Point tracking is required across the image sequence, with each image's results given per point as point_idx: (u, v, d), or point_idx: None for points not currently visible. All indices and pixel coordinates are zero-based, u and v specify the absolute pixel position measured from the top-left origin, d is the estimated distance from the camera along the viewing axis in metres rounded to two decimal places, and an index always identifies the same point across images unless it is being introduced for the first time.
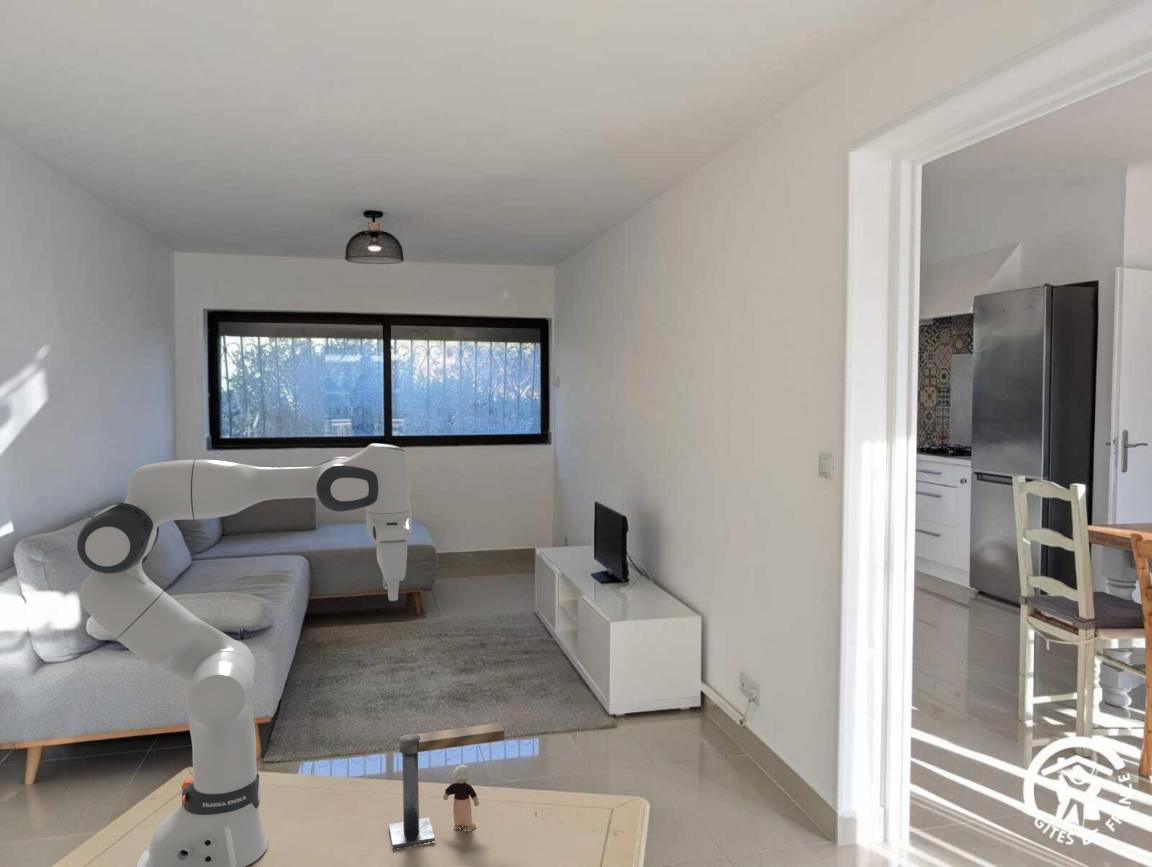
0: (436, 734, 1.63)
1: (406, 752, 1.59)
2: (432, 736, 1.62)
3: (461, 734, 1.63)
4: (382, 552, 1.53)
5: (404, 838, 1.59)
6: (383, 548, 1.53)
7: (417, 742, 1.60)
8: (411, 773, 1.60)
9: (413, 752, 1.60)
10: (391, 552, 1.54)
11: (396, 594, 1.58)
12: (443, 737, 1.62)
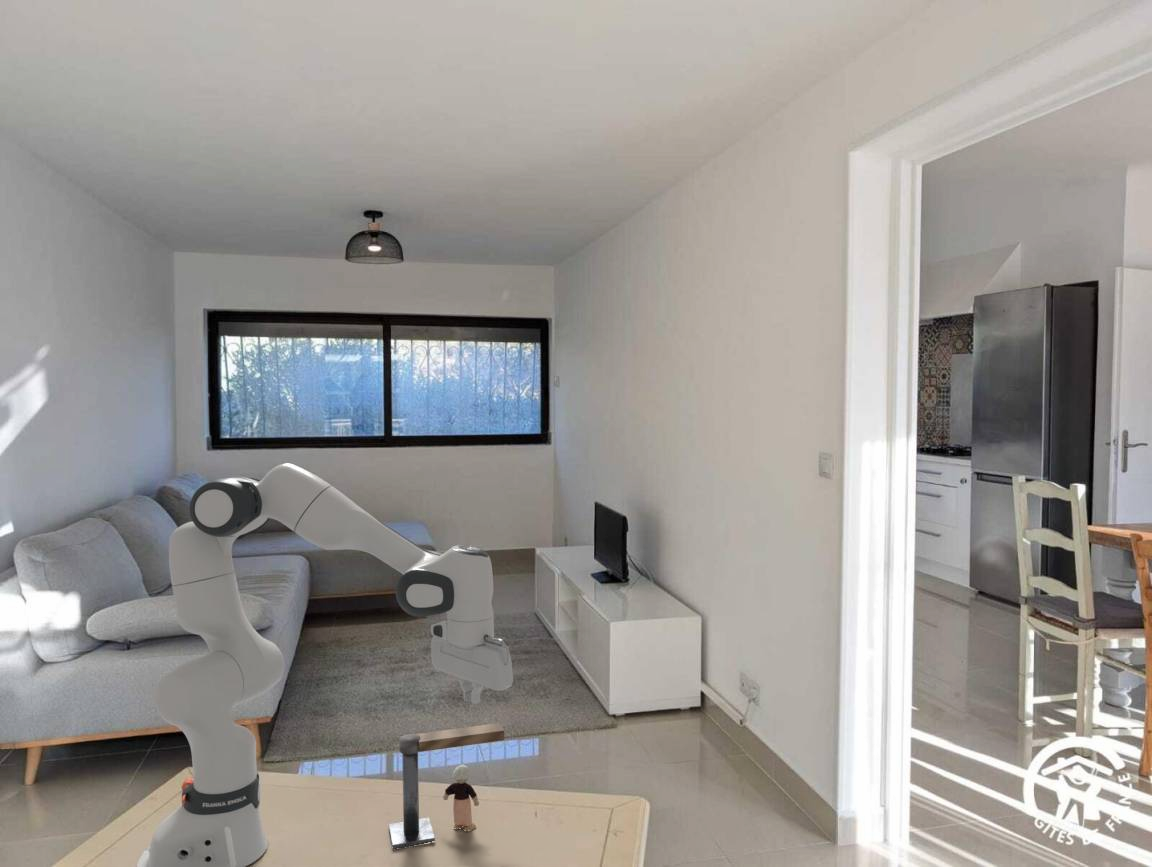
0: (436, 734, 1.63)
1: (406, 752, 1.59)
2: (432, 736, 1.62)
3: (461, 734, 1.63)
4: None
5: (404, 838, 1.59)
6: None
7: (417, 742, 1.60)
8: (411, 773, 1.60)
9: (413, 752, 1.60)
10: None
11: None
12: (443, 737, 1.62)
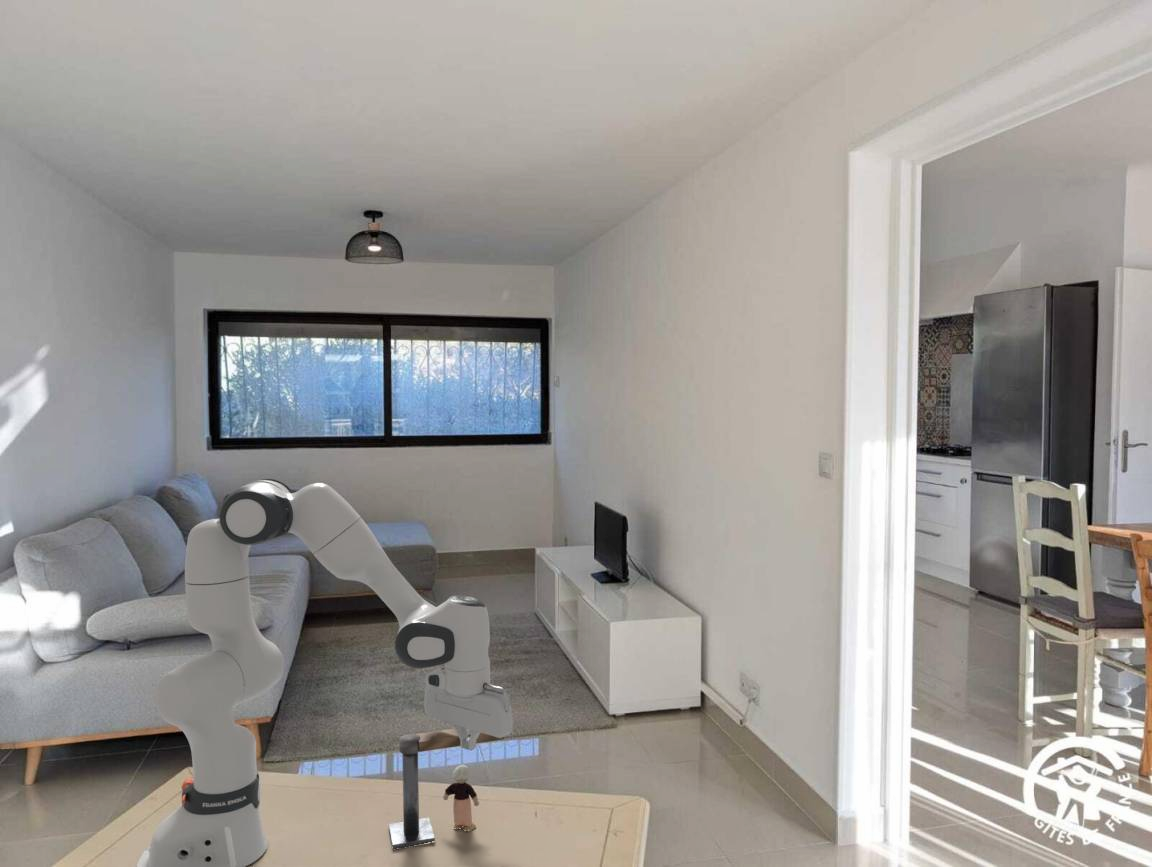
0: (436, 734, 1.63)
1: (406, 752, 1.59)
2: (432, 736, 1.63)
3: None
4: None
5: (404, 838, 1.59)
6: None
7: (417, 742, 1.60)
8: (411, 773, 1.60)
9: (413, 752, 1.60)
10: None
11: None
12: (443, 737, 1.62)
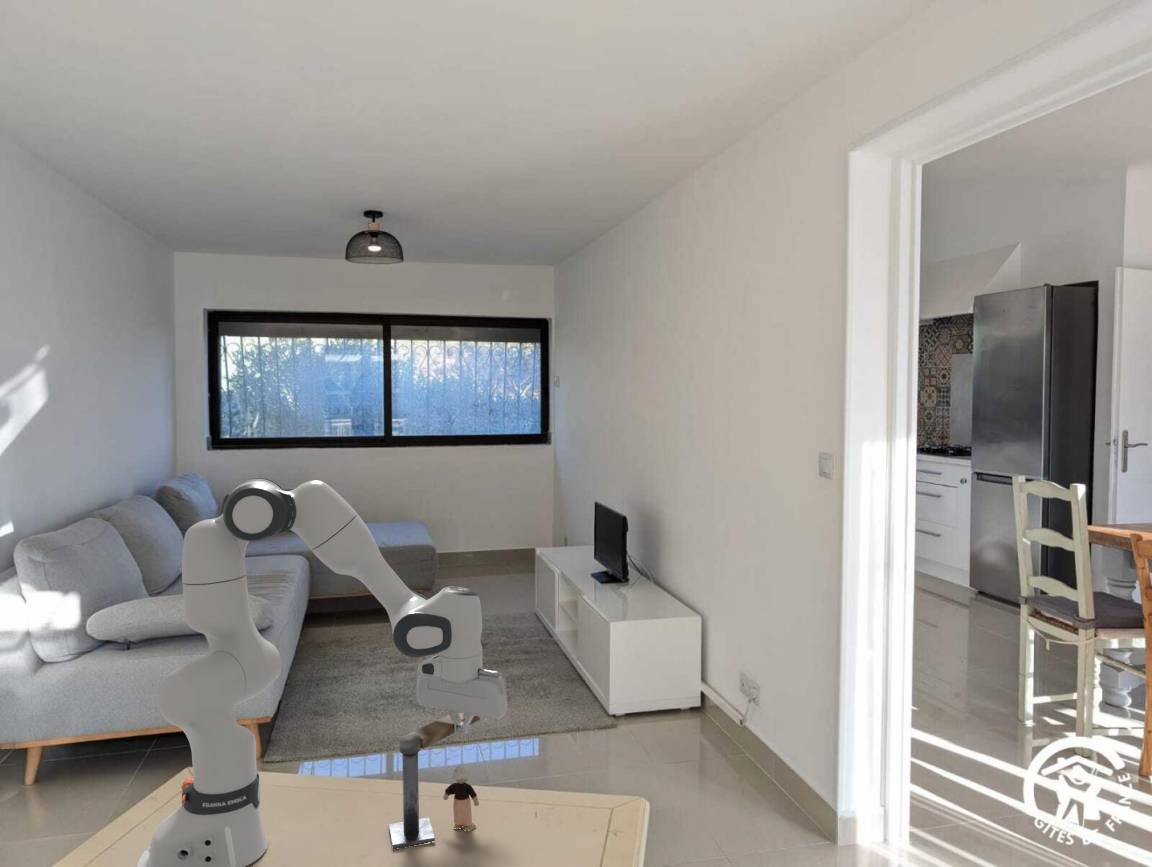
0: (427, 729, 1.66)
1: (413, 751, 1.60)
2: (426, 731, 1.65)
3: (449, 723, 1.69)
4: None
5: (404, 838, 1.59)
6: None
7: (420, 739, 1.61)
8: (411, 773, 1.60)
9: (418, 750, 1.61)
10: None
11: None
12: (437, 729, 1.66)
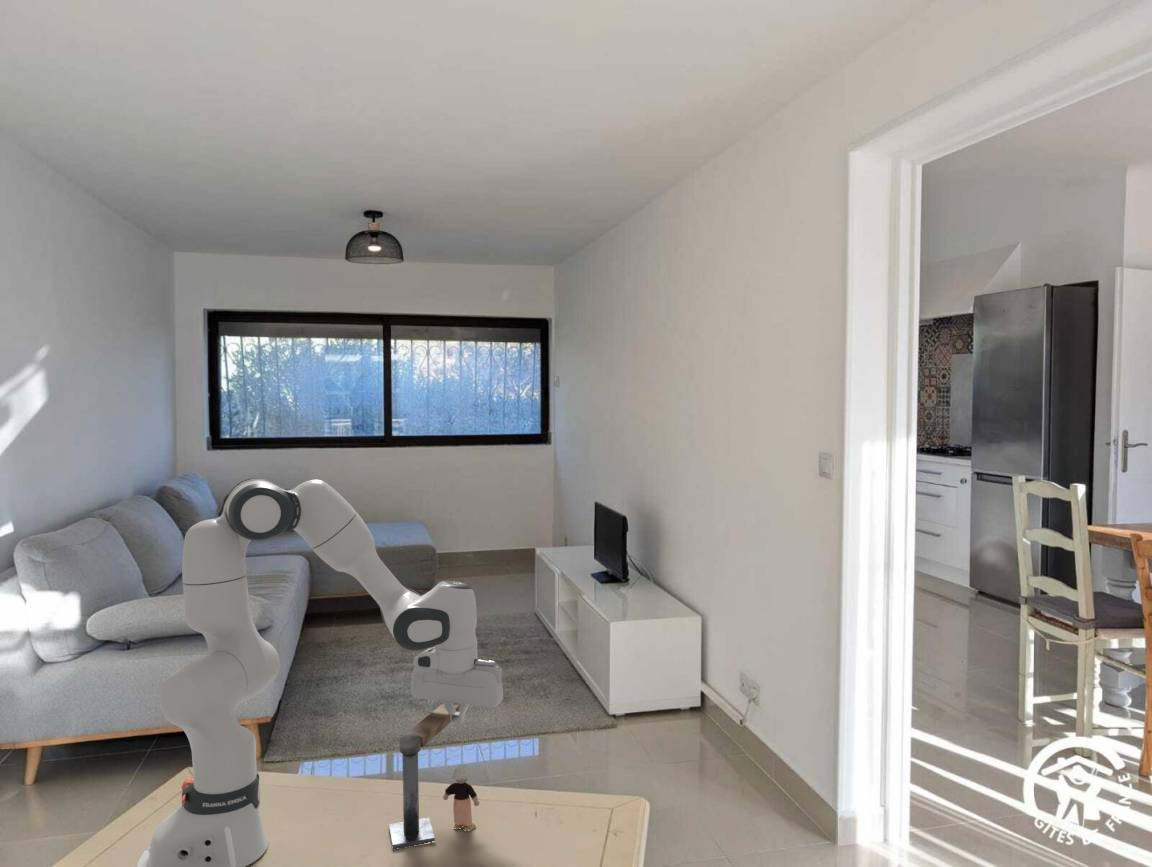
0: (421, 728, 1.66)
1: (416, 751, 1.60)
2: (420, 730, 1.65)
3: (438, 720, 1.70)
4: None
5: (404, 838, 1.59)
6: None
7: (420, 738, 1.62)
8: (411, 773, 1.60)
9: None
10: None
11: None
12: (431, 727, 1.67)
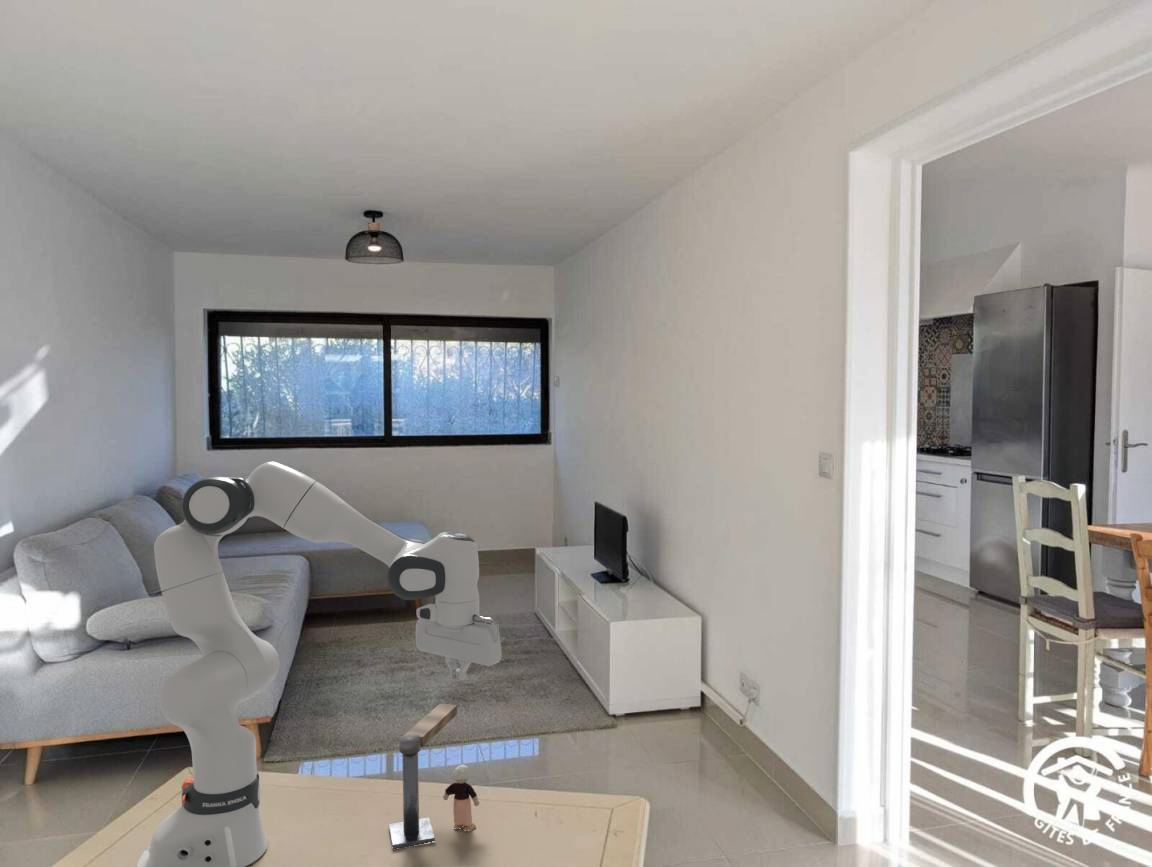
0: (420, 728, 1.66)
1: (416, 751, 1.60)
2: (420, 730, 1.65)
3: (437, 719, 1.71)
4: None
5: (404, 838, 1.59)
6: None
7: (419, 738, 1.62)
8: (411, 773, 1.60)
9: None
10: None
11: None
12: (430, 726, 1.67)
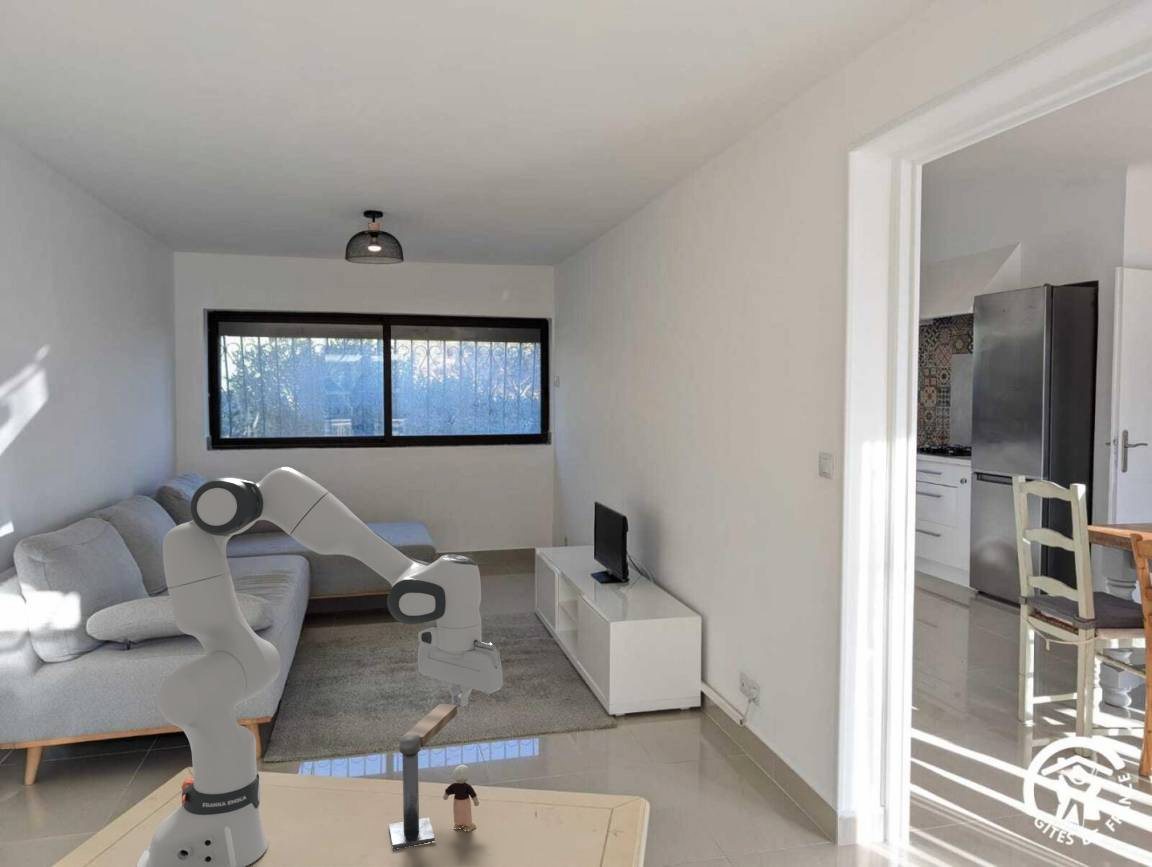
0: (420, 728, 1.66)
1: (416, 751, 1.60)
2: (420, 730, 1.65)
3: (437, 719, 1.71)
4: None
5: (404, 838, 1.59)
6: None
7: (419, 738, 1.62)
8: (411, 773, 1.60)
9: None
10: None
11: None
12: (430, 726, 1.67)
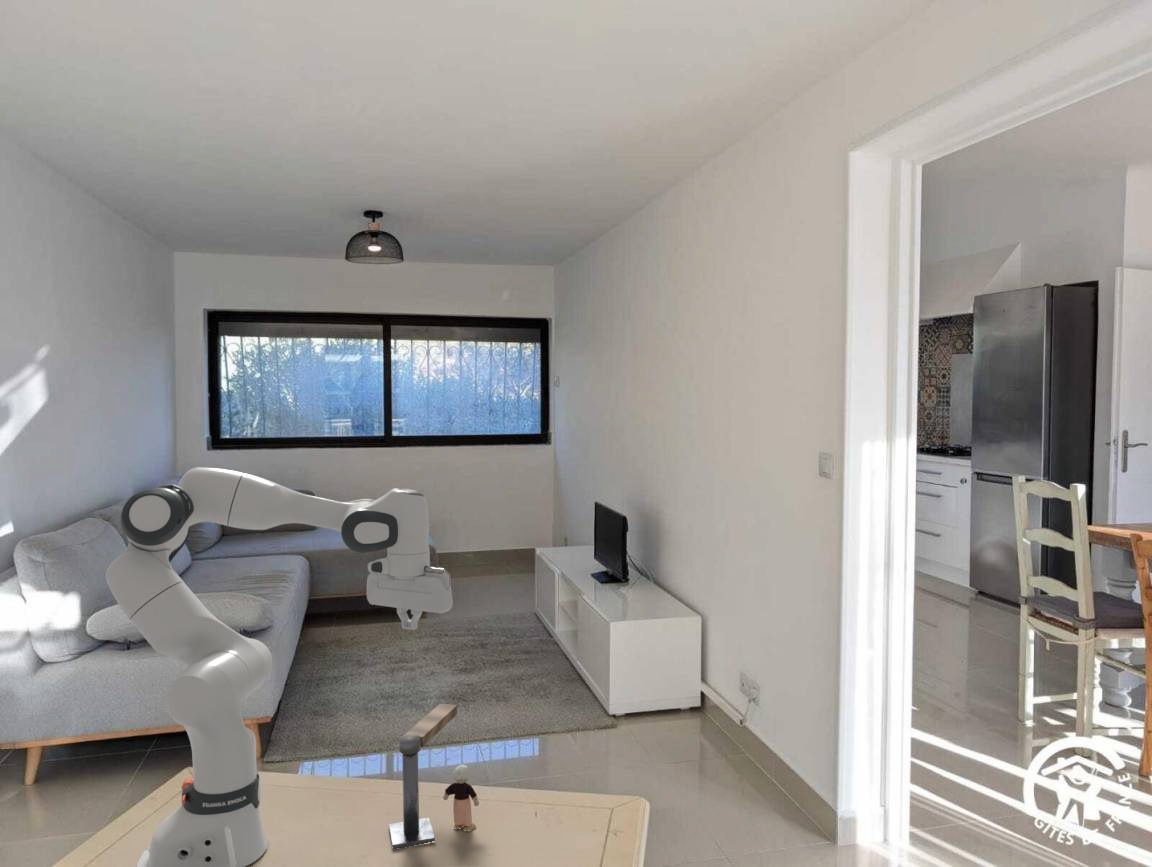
0: (420, 728, 1.66)
1: (416, 751, 1.60)
2: (420, 730, 1.65)
3: (437, 719, 1.71)
4: None
5: (404, 838, 1.59)
6: None
7: (419, 738, 1.62)
8: (411, 773, 1.60)
9: None
10: None
11: None
12: (430, 726, 1.67)
